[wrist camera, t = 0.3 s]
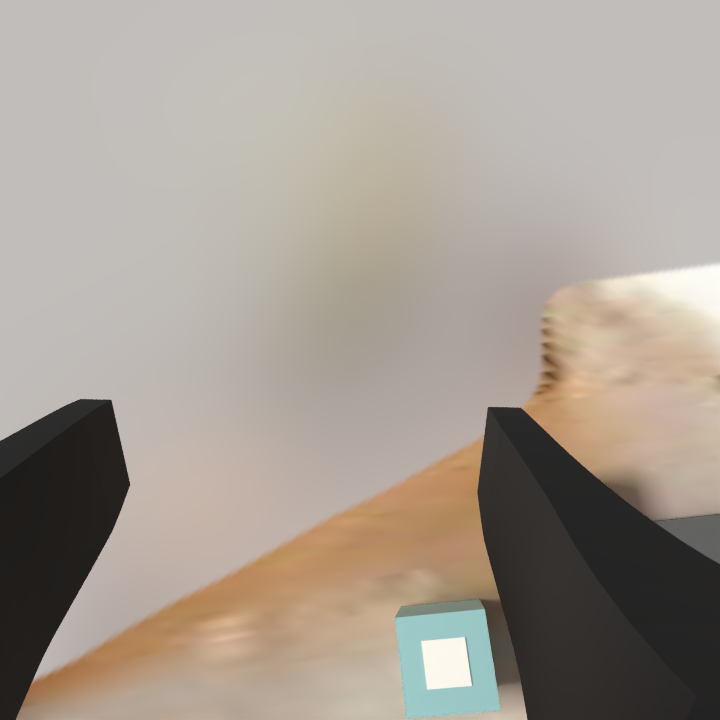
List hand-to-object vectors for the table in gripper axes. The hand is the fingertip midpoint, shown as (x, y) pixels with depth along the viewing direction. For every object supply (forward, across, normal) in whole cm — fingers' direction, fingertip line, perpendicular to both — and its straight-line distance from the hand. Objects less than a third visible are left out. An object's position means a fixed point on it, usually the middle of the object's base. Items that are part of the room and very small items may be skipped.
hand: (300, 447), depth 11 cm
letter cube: (+15, -6, +26) cm, 31 cm away
